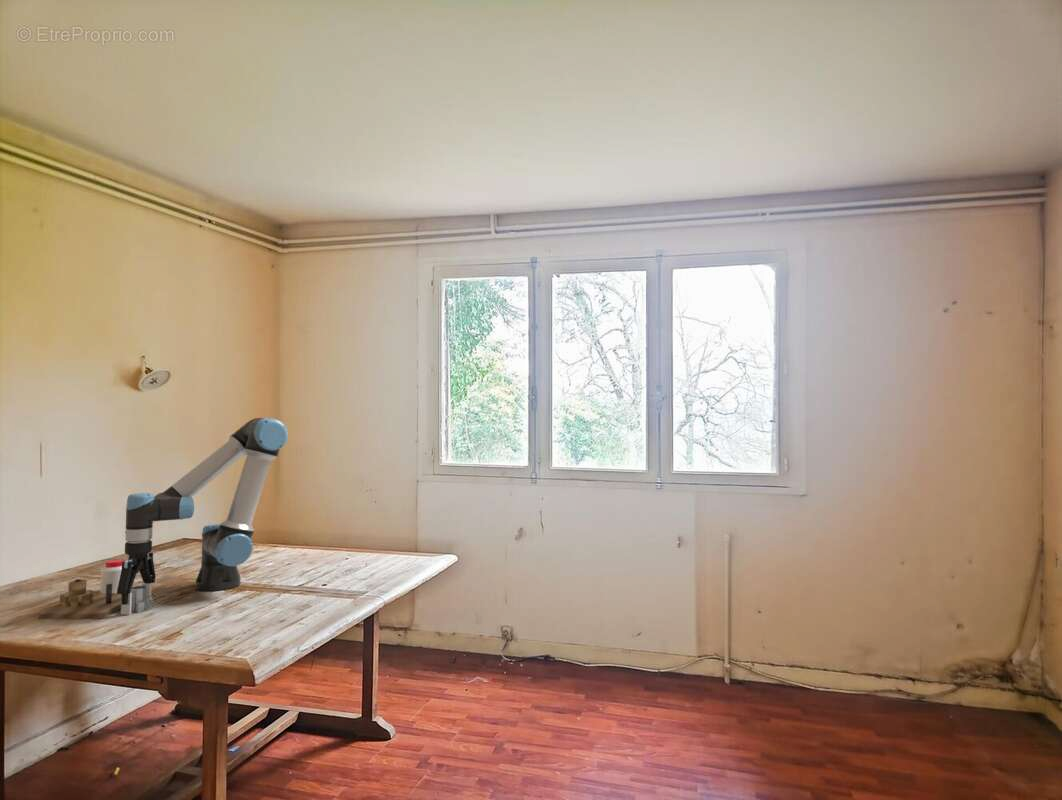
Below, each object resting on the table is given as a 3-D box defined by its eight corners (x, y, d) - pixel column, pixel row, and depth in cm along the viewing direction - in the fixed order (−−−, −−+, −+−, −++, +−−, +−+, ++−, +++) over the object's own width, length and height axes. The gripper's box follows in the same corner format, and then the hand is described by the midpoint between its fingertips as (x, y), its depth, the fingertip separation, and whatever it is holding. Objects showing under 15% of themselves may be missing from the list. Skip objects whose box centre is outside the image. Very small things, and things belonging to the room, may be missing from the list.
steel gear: (157, 605, 206) (158, 584, 206) (142, 613, 197) (143, 591, 197) (130, 605, 205) (131, 584, 205) (114, 613, 196) (115, 591, 197)
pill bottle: (96, 595, 215) (97, 564, 215) (105, 589, 222) (106, 559, 223) (121, 594, 217) (122, 563, 217) (129, 588, 224) (130, 558, 225)
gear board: (141, 597, 214) (142, 571, 214) (101, 618, 192) (102, 588, 192) (84, 597, 212) (85, 571, 213) (37, 618, 190) (38, 588, 191)
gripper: (146, 534, 213) (144, 598, 212) (104, 548, 190) (102, 620, 189) (168, 534, 213) (166, 597, 213) (130, 548, 190) (127, 620, 190)
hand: (136, 608), depth 201 cm, fingers open, 11 cm apart
